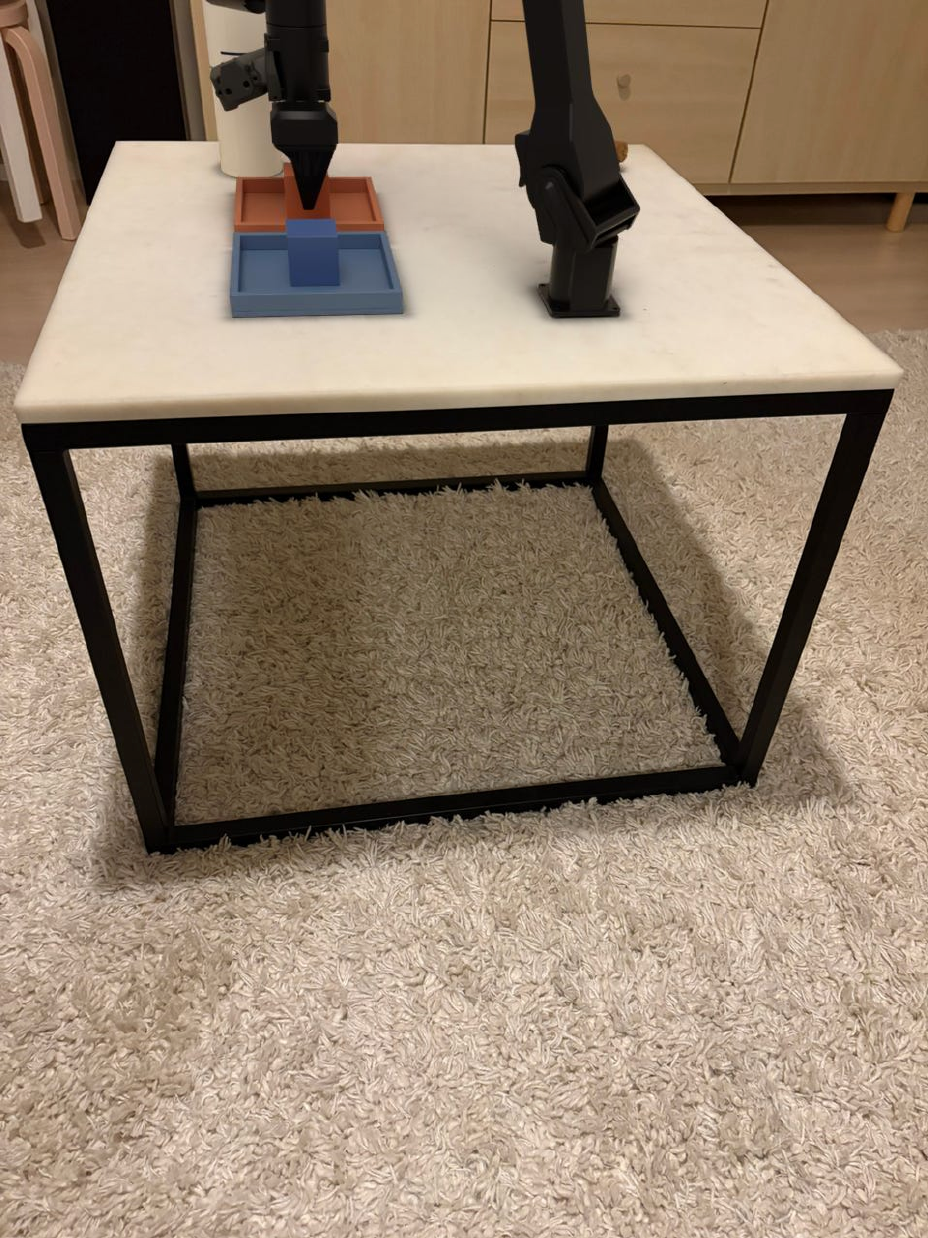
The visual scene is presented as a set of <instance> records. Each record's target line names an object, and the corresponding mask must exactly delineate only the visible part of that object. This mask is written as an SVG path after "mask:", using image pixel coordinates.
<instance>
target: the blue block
mask: <svg viewBox="0 0 928 1238" xmlns="http://www.w3.org/2000/svg"><path fill="white" fill-rule="evenodd" d="M286 234H287V248H288V261H289V274H290V286H339V285H340V277H339V252H338V235H337V229H336V223H335V219H286Z"/></svg>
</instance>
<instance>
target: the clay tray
mask: <svg viewBox="0 0 928 1238" xmlns="http://www.w3.org/2000/svg"><path fill="white" fill-rule="evenodd" d="M235 179H236V181H235V194H234V195H235V196H234V212H233V213H234V214H233V231H234V232H233V233H241V232H286V219H287V209H286V196H285V182H284V176H270V177H235ZM329 196H330V217H331V219H335V223H336V229H337V232H348V231H385V223H384V222H385V221H384V219H383V215H382V211H381V208H380V205H379V200H378V197H377V194H376V189H375V186H374V182H373V179H372V176H329Z"/></svg>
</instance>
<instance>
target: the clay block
mask: <svg viewBox="0 0 928 1238" xmlns="http://www.w3.org/2000/svg"><path fill="white" fill-rule="evenodd" d="M282 169H283V177H284V182H285V196H286V209H287V219H331V217H330V196H329V177H330V176H329V169H328V170H327V173H326V176H325V179H324V182H323V185H322V187H321V190H320V193H319V196H318V199H317V202H316V205H315V208H314V209H313V210H304V209H303V207H302V203H301V199H300V195H299V191H298V187H297V184H296V180H295V176H294V172H293V169H292V165H291V161H290V162H287V161H286V162H285V161H284V162H282Z"/></svg>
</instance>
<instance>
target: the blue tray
mask: <svg viewBox="0 0 928 1238" xmlns="http://www.w3.org/2000/svg"><path fill="white" fill-rule="evenodd" d="M337 235H338V252H339V277H340V285H339V286H290V274H289V261H288V248H287V234H286V232H241V233H235V232H233V233H232V246H231V247H232V248H231V264H230V265H231V266H230V280H229V281H230V283H229V302H230V310H231V317H232V318H254V317H255V318H258V317H259V318H260V317H264V318H265V317H301V316H302V317H303V316H304V317H305V316H346V315H348V316H349V315H350V316H351V315H353V316H354V315H391V314H392V315H393V314H395V315H396V314H403V310H404V309H403V307H404V305H403V303H404V301H403V296H404V294H403V293H404V292H403V289H402V285H401V282H400V278H399V274H398V269H397V267H396V266H397V265H396V263H395V259H394V256H393V252H392V248H391V245H390V241H389V237H388V233H387V231H386V230H384V231H348V232H337Z"/></svg>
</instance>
